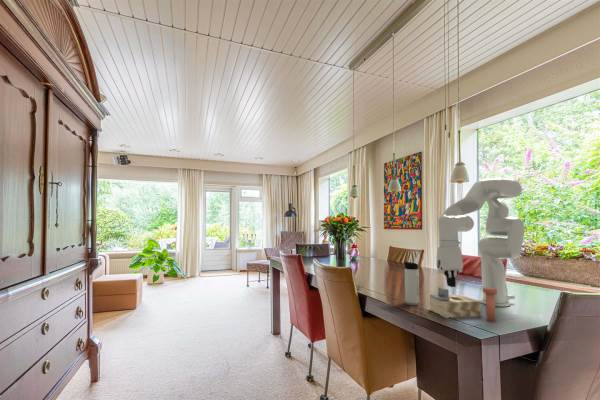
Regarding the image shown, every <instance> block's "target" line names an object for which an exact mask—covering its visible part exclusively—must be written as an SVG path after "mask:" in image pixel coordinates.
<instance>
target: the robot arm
mask: <svg viewBox="0 0 600 400" xmlns="http://www.w3.org/2000/svg"><path fill="white" fill-rule="evenodd" d="M521 193H522V185H521V183H520V182H519V181H517V180H516V179H512V178H511V179H510V178H503V177H495V178H485V179H480V180H476V181H475V182H474V183H473V185H472V186H471V188H470V189H469V190H468V192H467V193H466V194H465V196H464V197H463V198H461V199H460V200H458V201H456V202H455V203H453V204H451V205H450V206H448V207H447V208H446V210H445V211H444V212H443V213H442V214H441V216H439V217H438V220H437V223H438V224H437V225H438V226H437V227H438V240H439V241H438V242H439V247H438V246H437V251H436V269H438V273H439V274H443V275H444V276H445V277H446V284H447V287H450V288H455V287H456V282H457V281H456V278H457V275H458V274H460V273H462V272H463V269H464V261H463V254H462V250H461V247H460V246H459V245H460V244H461V241H460V240H459V233H460V232H461V233H462V232H463V233H467V232H469V231H471V230H473V228H474V226H475V223H474V219H473V218H472V217H471V216H469V215H467V214H471V213H475V212H478V211H479V210H481V209H482V208H483V207H484V205H485V203H487V207H488V210H487V211H488V213H487V217H486V223H485V232H486V234H487V235H489V236H492V237H484V238H481V239H480V240H479V241H478V243H477V247H478V251H479V257H480V264H481V266H480V267H481V284H482V285H481V286H482V287H481V288H482V289H481V290H482V291H481V292H482V297H480V298H479V300H478V301H480V304H483V305H486V293H484V292H483V288H484V287H489V288H495V289H497V294H494V296H495V307H502V308H503V307H504V308H505V307H509V306H511V302H510V300H515V299H516V297H515V295H514V294H507V291H506V290H507V287H506V270H505V269H506V268H505V265H504V263H503V261H502V260H501V259H509V260H516V259H518V258H520V256H521V254H522V249H523V243H524V237H525V223H524V221H523V220H522V219H521V218H520V217H516V216H509V211H510V209H509V207H508V205H507V204H506V203H505V201H503V199H512V198H513V199H514V198H517V197H519V196H520V195H521ZM458 232H459V233H458ZM504 237H505V238H504ZM506 237H507V238H506Z"/></svg>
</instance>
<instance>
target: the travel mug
mask: <svg viewBox="0 0 600 400" xmlns="http://www.w3.org/2000/svg"><path fill="white" fill-rule="evenodd" d="M403 264H404V293H405V294H404V295H405V297H404V298H405V304H406V305H409V306H418V305H420V287H419V285H420V282H419V280H420V279H419V263H416V262H412V261H403Z"/></svg>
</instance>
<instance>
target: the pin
mask: <svg viewBox="0 0 600 400" xmlns="http://www.w3.org/2000/svg"><path fill="white" fill-rule="evenodd" d="M483 292H484V293H486V304H485V308H486V309H485V310H486V311H485V314H486V320H487V321H488V322H493V323H494V322H496V306H495V296H494V294H497V289H495V288H489V287H484V288H483V291H482V293H483Z"/></svg>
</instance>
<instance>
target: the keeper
mask: <svg viewBox="0 0 600 400" xmlns="http://www.w3.org/2000/svg"><path fill="white" fill-rule="evenodd" d="M437 290H438V292H437V293H430V294H429V298H430V297H431V298H433V299H436V300H438V301H442V300H450V297H449V289H448V288H445V287H438V288H437Z"/></svg>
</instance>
